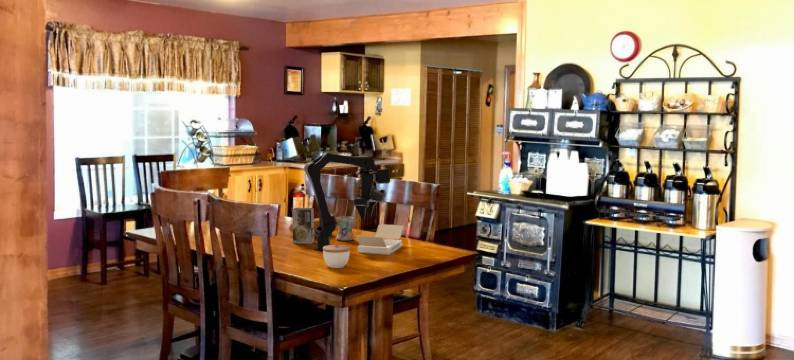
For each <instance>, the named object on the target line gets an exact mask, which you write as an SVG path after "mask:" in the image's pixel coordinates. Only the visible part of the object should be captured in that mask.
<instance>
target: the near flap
mask: <svg viewBox="0 0 794 360" xmlns="http://www.w3.org/2000/svg"><path fill="white" fill-rule="evenodd" d="M355 238H356V240H357V242H358V244H359V245H360V246H372V247H387V246H386V244H385V242H384V239H385V238H383V237H376V236H375V235H374V236H372V235H361V234H360V235H359V234H358V235H355Z"/></svg>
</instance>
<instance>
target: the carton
mask: <svg viewBox="0 0 794 360" xmlns="http://www.w3.org/2000/svg"><path fill="white" fill-rule="evenodd" d="M383 239H384V242H385V244H386V246H387V247H372V246H360V244H359V245H358V246H357V253H359V254H367V255H368V254H369V255H383V256H384V255H386V256H390V255H391V254H392V253H394V252H396V251H398V250H400V249H401V248H402V246H403V241H402V239H386V238H383Z"/></svg>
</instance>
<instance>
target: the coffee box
mask: <svg viewBox="0 0 794 360" xmlns="http://www.w3.org/2000/svg"><path fill="white" fill-rule="evenodd" d="M291 211H292V223H293V233H292V244H299V245H300V244H303V245H304V244H306V245H307V244H308V245H309V244H310V245H312V244H313V243H314V242H315V237H314V219H315V208H314V207H294V208H293V209H292V210H291Z"/></svg>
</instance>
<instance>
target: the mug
mask: <svg viewBox="0 0 794 360" xmlns="http://www.w3.org/2000/svg"><path fill="white" fill-rule="evenodd" d="M355 219H356V217H354V216H344V215H343V216H335V221H336V223H337V224H336V225H337V234H336V235H337V236H336V240H339V241H341V242H342V241H343V242H347V241H352V240H354V239H355V237H354V235H353V225H354V222H355Z"/></svg>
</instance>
